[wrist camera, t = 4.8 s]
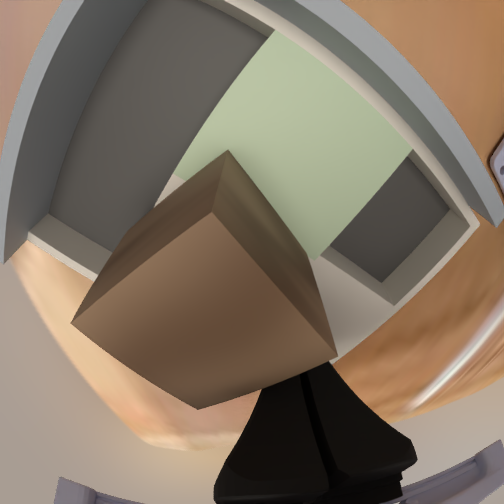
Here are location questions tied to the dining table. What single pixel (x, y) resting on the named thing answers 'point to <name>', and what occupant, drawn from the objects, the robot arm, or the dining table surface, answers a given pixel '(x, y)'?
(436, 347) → the dining table surface
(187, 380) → the walnut block
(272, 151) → the board
